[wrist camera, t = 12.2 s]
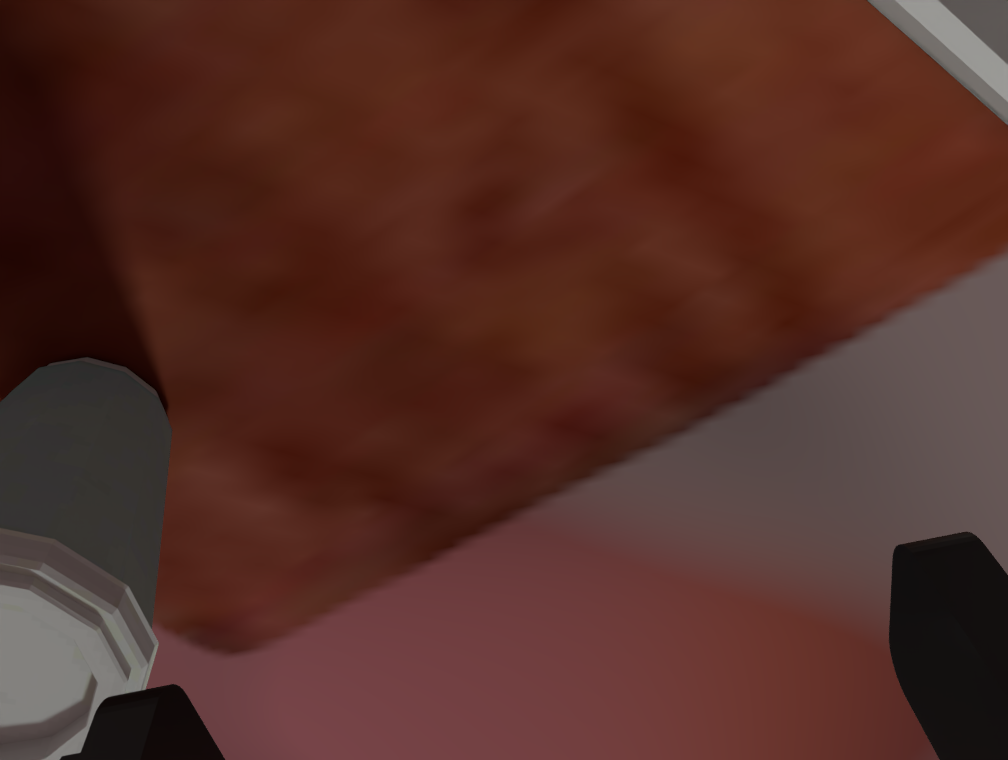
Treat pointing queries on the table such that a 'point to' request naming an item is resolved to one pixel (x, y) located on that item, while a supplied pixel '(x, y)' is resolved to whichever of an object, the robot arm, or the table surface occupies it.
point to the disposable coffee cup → (76, 549)
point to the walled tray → (960, 41)
